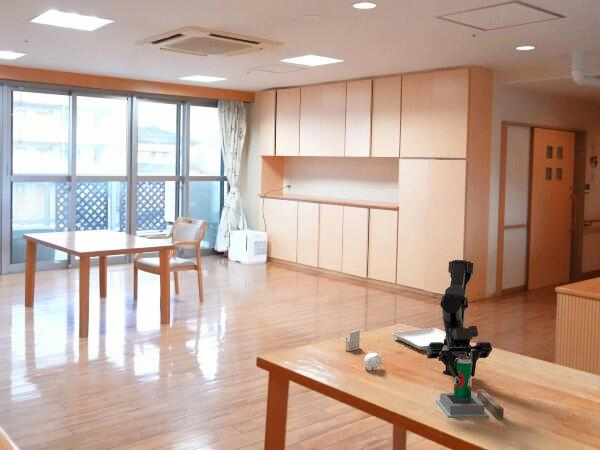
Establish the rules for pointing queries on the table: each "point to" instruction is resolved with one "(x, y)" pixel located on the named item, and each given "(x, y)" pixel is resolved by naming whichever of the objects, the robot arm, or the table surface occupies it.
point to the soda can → (463, 377)
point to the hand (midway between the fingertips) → (464, 376)
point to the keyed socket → (461, 406)
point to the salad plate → (421, 337)
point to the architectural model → (353, 341)
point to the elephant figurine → (372, 361)
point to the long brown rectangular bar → (490, 404)
